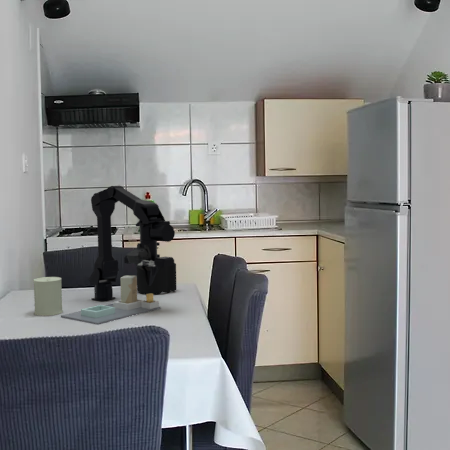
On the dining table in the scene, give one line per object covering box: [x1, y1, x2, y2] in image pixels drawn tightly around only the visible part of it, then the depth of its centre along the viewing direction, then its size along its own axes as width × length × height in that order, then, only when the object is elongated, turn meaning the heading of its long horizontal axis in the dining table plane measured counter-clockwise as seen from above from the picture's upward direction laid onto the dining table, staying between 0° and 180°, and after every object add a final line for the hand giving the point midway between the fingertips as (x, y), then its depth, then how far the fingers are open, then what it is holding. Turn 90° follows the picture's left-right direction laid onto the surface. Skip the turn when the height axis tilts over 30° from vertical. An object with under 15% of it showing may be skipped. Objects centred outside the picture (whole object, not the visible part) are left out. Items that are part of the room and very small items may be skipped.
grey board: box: [60, 298, 161, 326], centre depth 204 cm, size 18×28×3 cm, turn 143°
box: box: [120, 274, 138, 304], centre depth 210 cm, size 5×4×11 cm
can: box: [32, 276, 64, 317], centre depth 205 cm, size 9×9×12 cm
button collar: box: [141, 299, 160, 309], centre depth 209 cm, size 4×4×2 cm
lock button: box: [145, 293, 155, 303], centre depth 209 cm, size 2×2×3 cm
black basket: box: [136, 260, 177, 296], centre depth 241 cm, size 14×15×12 cm
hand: (149, 285), depth 209 cm, fingers closed
